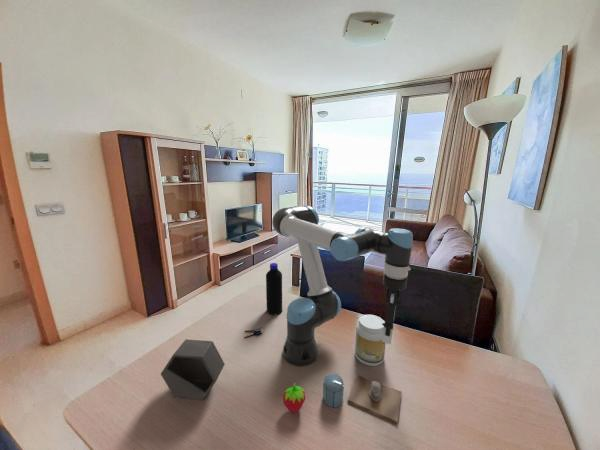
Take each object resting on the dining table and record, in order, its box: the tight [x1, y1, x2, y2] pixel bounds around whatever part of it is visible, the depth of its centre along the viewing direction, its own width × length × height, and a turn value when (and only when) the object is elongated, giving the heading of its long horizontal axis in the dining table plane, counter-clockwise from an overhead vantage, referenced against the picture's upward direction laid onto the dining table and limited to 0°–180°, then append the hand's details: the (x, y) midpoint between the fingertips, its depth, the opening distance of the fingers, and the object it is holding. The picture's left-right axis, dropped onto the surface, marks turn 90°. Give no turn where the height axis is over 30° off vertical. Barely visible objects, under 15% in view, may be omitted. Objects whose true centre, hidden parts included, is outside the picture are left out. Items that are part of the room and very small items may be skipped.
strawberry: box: [282, 382, 306, 413], centre depth 79 cm, size 6×7×10 cm
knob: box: [322, 373, 345, 409], centre depth 84 cm, size 7×7×7 cm
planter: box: [160, 339, 225, 401], centre depth 85 cm, size 17×8×21 cm
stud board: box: [347, 374, 402, 425], centre depth 84 cm, size 16×12×6 cm
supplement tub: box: [354, 314, 387, 367], centre depth 102 cm, size 12×12×17 cm
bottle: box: [265, 262, 283, 316], centre depth 134 cm, size 9×9×28 cm
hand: (388, 330), depth 86 cm, fingers open, 13 cm apart
